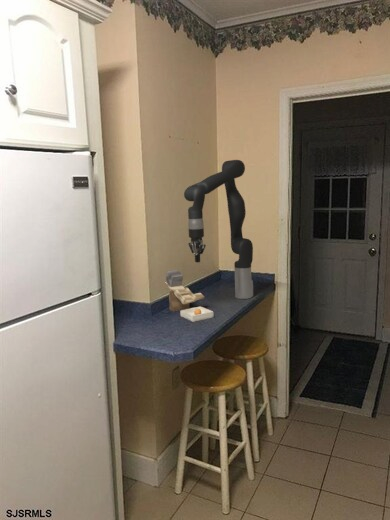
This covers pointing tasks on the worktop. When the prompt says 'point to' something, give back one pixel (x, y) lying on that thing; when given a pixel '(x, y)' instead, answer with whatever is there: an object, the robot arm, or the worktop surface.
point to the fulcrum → (176, 302)
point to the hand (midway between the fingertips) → (197, 262)
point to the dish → (192, 317)
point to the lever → (180, 288)
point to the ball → (197, 311)
